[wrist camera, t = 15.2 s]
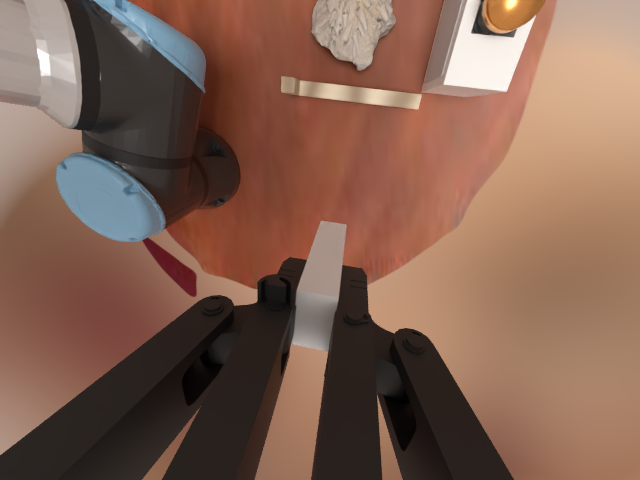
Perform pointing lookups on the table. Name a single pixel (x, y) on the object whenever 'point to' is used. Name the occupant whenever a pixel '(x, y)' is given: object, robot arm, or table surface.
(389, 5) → the rock
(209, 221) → the table surface
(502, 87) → the white button box
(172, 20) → the table surface
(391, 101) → the track
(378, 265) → the table surface
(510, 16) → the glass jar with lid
